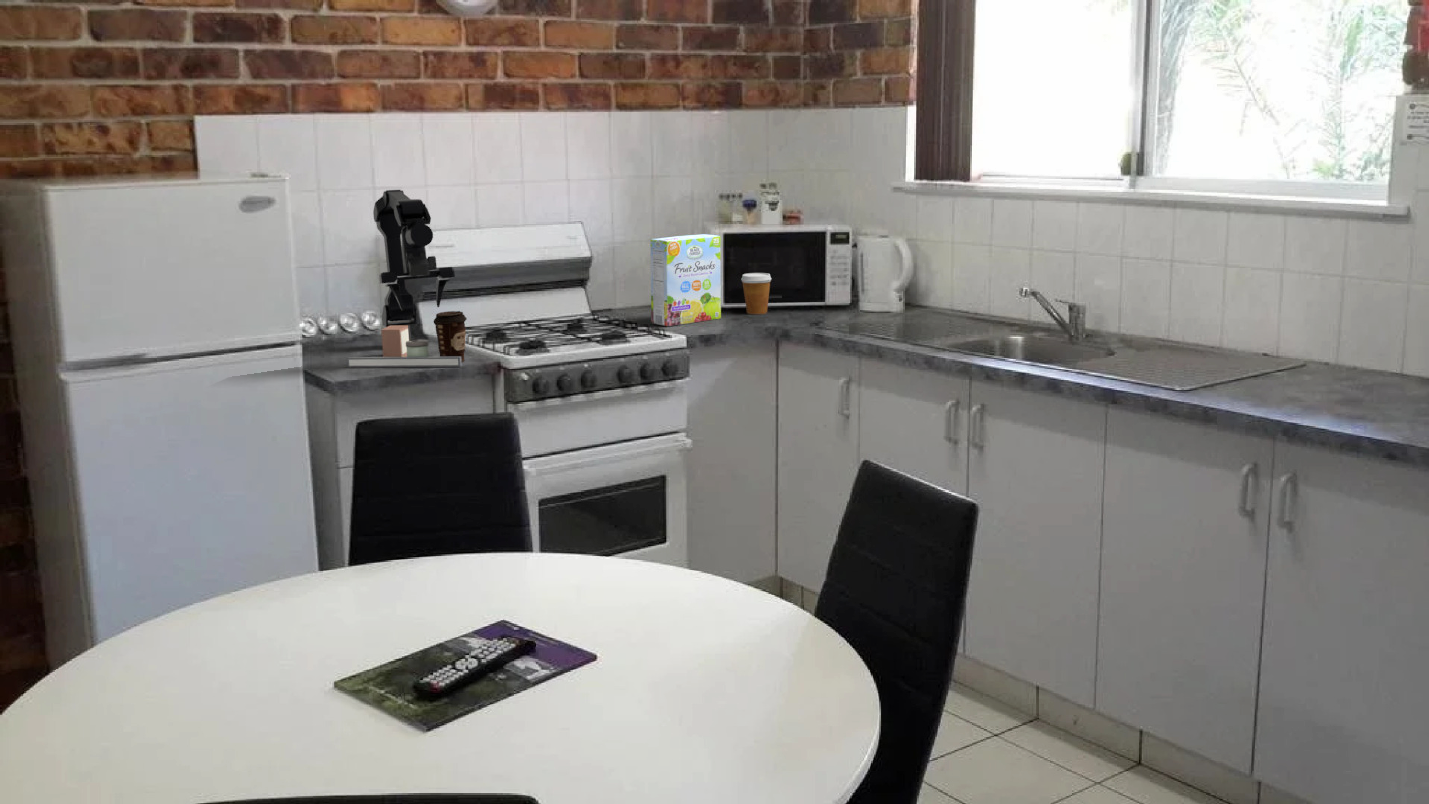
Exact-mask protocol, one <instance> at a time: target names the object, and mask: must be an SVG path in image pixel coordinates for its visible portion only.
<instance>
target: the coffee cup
mask: <svg viewBox="0 0 1429 804" xmlns="http://www.w3.org/2000/svg"><path fill="white" fill-rule="evenodd" d="M467 319H468V318H467V317H466V316H465V314H464V312H463V311H461V310H457V311H456V310H455V311H454V310H451V311H442V312H438V313H436V315H435V318H434V319H433V324H434V325H435V331H436V332H435V333H436V337H437V344H438V345H437V346H438V351H439V352H438V353H439V357H442V356H461V360H462V363H463V362H465V350H466V333H467V332H466V324H465V322H466V321H467Z"/></svg>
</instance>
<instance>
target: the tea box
mask: <svg viewBox="0 0 1429 804" xmlns="http://www.w3.org/2000/svg"><path fill="white" fill-rule="evenodd" d="M380 330H381V331H380V332H381V343H382V357H407V347H406V341H409V333H408V325H390V326H388V327H384V328H382V329H380Z"/></svg>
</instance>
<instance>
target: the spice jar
mask: <svg viewBox="0 0 1429 804" xmlns="http://www.w3.org/2000/svg"><path fill="white" fill-rule="evenodd" d="M429 345H430V343H429V340H428V339H411V340H410V341H406V347H407V356H406V357H430V350H429V349H430V348H429Z"/></svg>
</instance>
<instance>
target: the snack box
mask: <svg viewBox="0 0 1429 804" xmlns="http://www.w3.org/2000/svg"><path fill="white" fill-rule="evenodd" d="M721 239H722V238H721V236H720V235H717V234H706V233H703V234H689V235H677V236H676V235H675V236H670V237H660V238H651V239H649V240H650V304H651V305H650V308H651V309H650V310H651V311H650V315H651V324H653V325H659V326H663V327H671V326H672V327H673V326H679V325H687V324H693V323H699V322H701V323H702V322H706V321H713V320H719V319H720V320H721V319H722V302H721V301H722V300H721V299H722V295H721V294H722V293H721V292H722V291H721V290H722V289H721V285H722V282H721V281H722V279H721V277H722V276H721V273H722V271H721V264H722V263H721V259H722V258H721V257H722V255H721V254H722V253H721V243H722V241H721Z"/></svg>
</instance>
